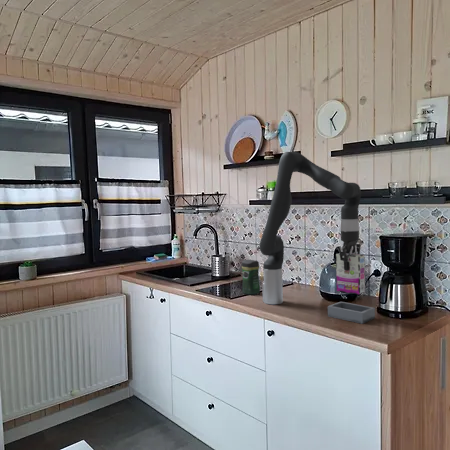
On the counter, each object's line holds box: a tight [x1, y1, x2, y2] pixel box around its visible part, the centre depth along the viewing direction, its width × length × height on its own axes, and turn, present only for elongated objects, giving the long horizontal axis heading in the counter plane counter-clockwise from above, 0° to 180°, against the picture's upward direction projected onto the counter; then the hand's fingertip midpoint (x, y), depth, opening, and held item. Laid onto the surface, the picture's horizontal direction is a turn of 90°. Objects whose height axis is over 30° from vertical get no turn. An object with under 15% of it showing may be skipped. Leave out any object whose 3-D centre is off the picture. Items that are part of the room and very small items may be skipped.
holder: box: [327, 301, 376, 325], centre depth 179 cm, size 16×10×4 cm, turn 43°
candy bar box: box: [335, 253, 366, 295], centre depth 178 cm, size 11×5×16 cm, turn 45°
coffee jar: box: [241, 259, 261, 295], centre depth 228 cm, size 10×8×19 cm
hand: (350, 269), depth 178 cm, fingers closed on candy bar box, 5 cm apart
